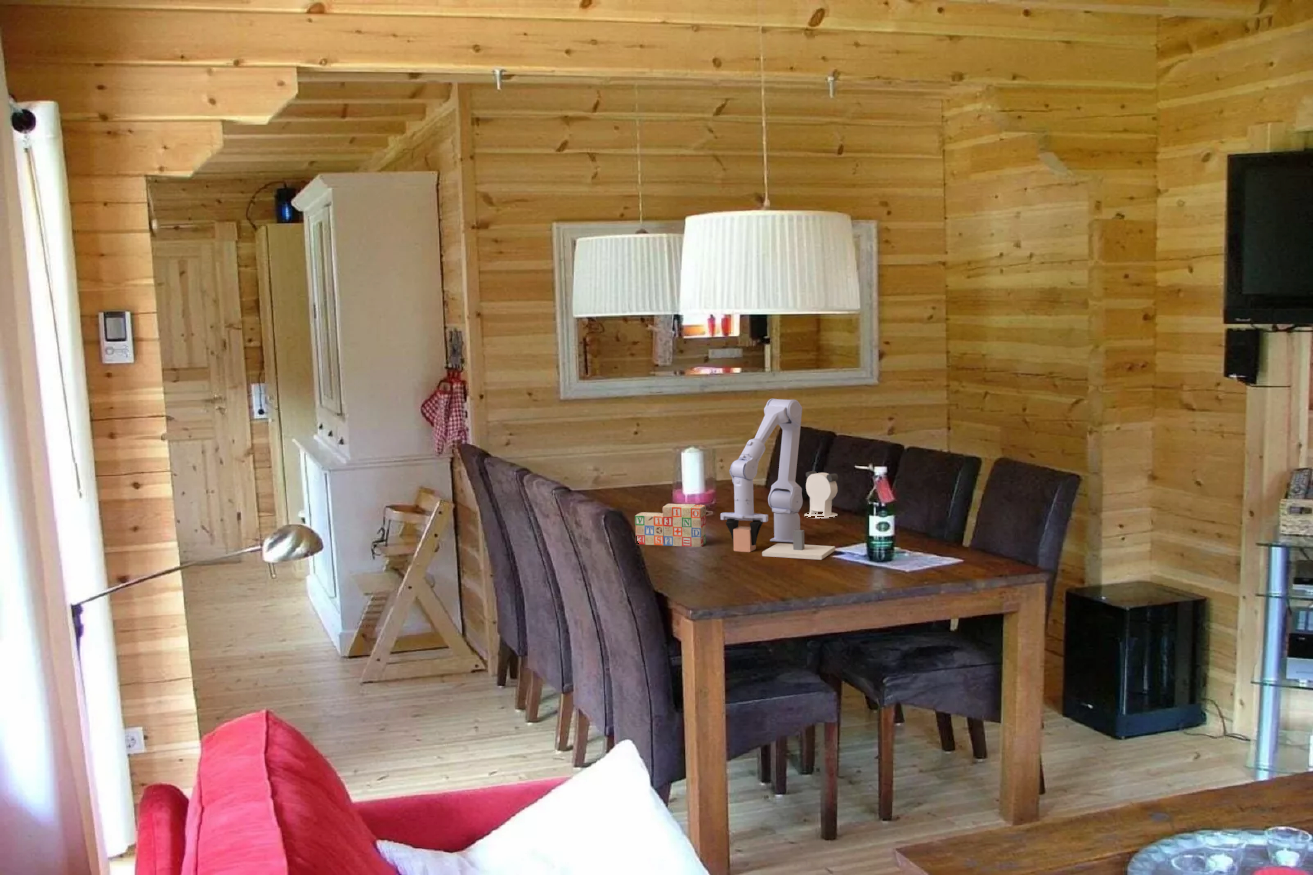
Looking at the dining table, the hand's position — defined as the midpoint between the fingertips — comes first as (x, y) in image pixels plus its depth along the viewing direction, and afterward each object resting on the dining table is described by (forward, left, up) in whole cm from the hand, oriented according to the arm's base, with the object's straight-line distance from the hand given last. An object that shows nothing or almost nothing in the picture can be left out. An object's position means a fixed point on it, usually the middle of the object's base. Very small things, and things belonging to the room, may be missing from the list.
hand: (744, 544), depth 379 cm
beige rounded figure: (-63, +5, -2) cm, 63 cm away
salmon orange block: (0, 0, -2) cm, 2 cm away
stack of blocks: (-3, -25, -2) cm, 26 cm away
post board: (0, +17, -2) cm, 17 cm away
